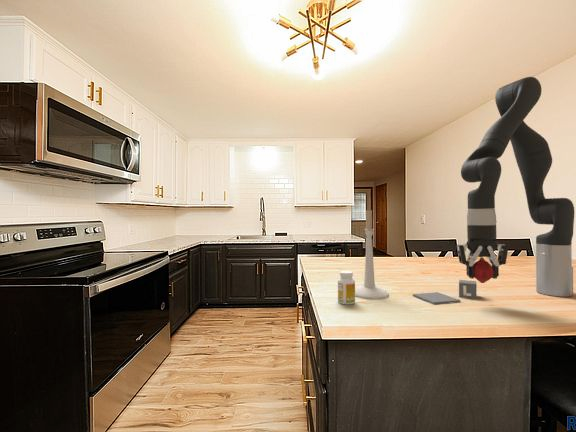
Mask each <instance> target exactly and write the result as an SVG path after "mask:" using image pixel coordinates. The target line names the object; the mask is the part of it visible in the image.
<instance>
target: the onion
mask: <svg viewBox="0 0 576 432" xmlns="http://www.w3.org/2000/svg"><path fill="white" fill-rule="evenodd" d="M473 267H474V279H476V280H477V281H478V282H479V283H481V284H485V283H486V282H488V281H490V280H491V279H493V278H492V277H493V274H494V270H493V267H492V264H491V263H490V262H489V261H487V260H486V259H484V256H482V257H479V260H476V261H475V262H474V264H473Z"/></svg>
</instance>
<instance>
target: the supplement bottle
mask: <svg viewBox="0 0 576 432" xmlns="http://www.w3.org/2000/svg"><path fill="white" fill-rule="evenodd" d="M353 275H354V274H353V271H351V270H341V271H339V276H340V277H339V278H338V279H337V302H338V304H341V305H354V304H355V303H356V297H355V288H356V281H355V279H354V278H353Z"/></svg>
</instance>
